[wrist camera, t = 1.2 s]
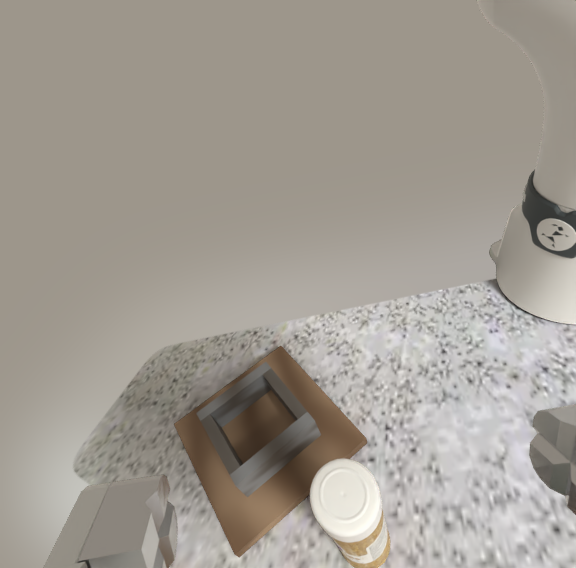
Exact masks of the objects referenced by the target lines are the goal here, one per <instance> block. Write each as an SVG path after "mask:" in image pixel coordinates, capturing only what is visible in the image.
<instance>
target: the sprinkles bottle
mask: <svg viewBox="0 0 576 568" xmlns="http://www.w3.org/2000/svg"><path fill="white" fill-rule="evenodd" d="M310 504H311V508H312V511H313V514H314V516H315V518H316V520H317V521H318V523H319V524H320V526H321V527H322V528H323V530H324V531H325V532H326V533H327V534H329V535H330V536H331V537H332V539H333V540H334V541H335V543H336V544H337V546H338V548H339V549H340V550H341V553H342V554H343V556H344V557H345V559H346V560H347V561H348V562H349V563H350V564H351V565H352V566H354V567H355V568H378V567H379V566H381V565H382V564H383V563H384V562H385V560H386V558H387V556H388V554H389V551H390V537H389V532H388V530H387V526H386V522H385V517H384V513H383V509H382V499H381V494H380V490H379V487H378V484H377V482H376V480H375V478H374V476H373V475H372V473H371V472H370V471H369V470H368V469H367V468H366V467H365V466H364V465H362V464H361V463H359V462H357V461H354V460H351V459H336V460H333V461H330V462H328V463H327V464H325V465H324V466H323V467H321V468H320V469H319V471H318V472H317V473H316V475H315V477H314V479H313V481H312V484H311V488H310Z"/></svg>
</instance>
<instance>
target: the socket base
mask: <svg viewBox="0 0 576 568" xmlns="http://www.w3.org/2000/svg"><path fill="white" fill-rule="evenodd" d="M174 425H175V428H176V430H177V432H178V434H179V436H180V438H181V440H182V443H183V445H184V447H185V449H186V451H187V453H188V455H189V458H190V460H191V462H192V464H193V466H194V468H195V470H196V473H197V475H198V477H199V479H200V481H201V483H202V485H203V488H204V490H205V492H206V494H207V496H208V498H209V500H210V503H211V505H212V507H213V509H214V511H215V513H216V515H217V518H218V520H219V522H220V524H221V526H222V528H223V530H224V533H225V535H226V537H227V539H228V541H229V543H230V545H231V548H232V550H233V552H234V554H235V555H236V556H238V557H240V556H241V555H242V554H244V553H245V552H246V551H247V550H248V549H249V548H250V547H251V546H253V545H254V544H255V543H256V542H257V541H258V540H259V539H260V538H262V537H263V536H264V535H265V534H266V533H267V532H268V531H269V530H270V529H272V528H273V527H274V526H275V525H276V524H277V523H278V522H279V521H281V520H282V519H283V518H284V517H285V516H286V515H287V514H288V513H289V512H291V511H292V510H293V509H294V508H295V507H296V506H297V505H298V504H300V503H301V502H302V501H303V500H304V499H305V498H306V497H307V496H308V495H310V488H311V484H312V481H313V479H314V477H315V475H316V473H317V472H318V471H319V469H320V468H321V467H323V466H324V465H325V464H327V463H328V462H330V461H333V460H336V459H350V458H351V457H352V456H353V455H354V454H355V453H357V452H358V451H359V450H360V449H361V448H362V447H363V446H364V445H366V444H367V440H366V438H365V436H364V435H363V434H362V433H361V432H360V431H359V430H358V429H357V428H356V427H355V426H354V424H353V423H352V422H351V421H350V420H349V419H348V418H347V417H346V416H345V415H344V414H343V413H342V411H341V410H340V409H339V408H338V407H337V406H336V405H335V404H334V403H333V402H332V401H331V399H330V398H329V397H328V396H327V395H326V394H325V393H324V392H323V391H322V390H321V389H320V387H319V386H318V385H317V384H316V383H315V382H314V381H313V380H312V379H311V378H310V377H309V376H308V374H307V373H306V372H305V371H304V370H303V369H302V368H301V367H300V366H299V365H298V364H297V362H296V361H295V360H294V359H293V358H292V357H291V356H290V355H289V354H288V353H287V352H286V351H285V349H284V348H283V347H282V346H280V347H278V348H277V349H276V350H274V351H273V352H271V353H270V354H269V355H267V356H266V357H265V358H263V359H262V360H261V361H259V362H258V363H257V364H255V365H254V366H252V367H251V368H250V369H248V370H247V371H246V372H244V373H243V374H242V375H240V376H239V377H237V378H236V379H235V380H233V381H232V382H231V383H229V384H228V385H227V386H225V387H224V388H222V389H221V390H220V391H218V392H217V393H216V394H214V395H213V396H212V397H210V398H209V399H208V400H206V401H205V402H203V403H202V404H201V405H199V406H198V407H197V408H195V409H194V410H193V411H191V412H190V413H188V414H187V415H186V416H184V417H183V418H182V419H180V420H179V421H178V422H176V423H175V424H174Z"/></svg>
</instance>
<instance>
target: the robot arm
mask: <svg viewBox="0 0 576 568" xmlns="http://www.w3.org/2000/svg"><path fill="white" fill-rule="evenodd" d="M476 1H477V3H478V6H479V8H480V10H481V12H482V14H483V16H484V17H485V18H486V20H487V21H488V22H489V23H490V24H491V25H492V26H493V27H494V28H495V29H497V30H498V31H500V32H501V33H503V34H504V35H506V36H507V37H508V38H510V39H511V40H512V41H513V42H514V43H515V44H516V45H517V46H518V47H519V48H520V49H521V50H522V51H523V52H524V53H525V55H526V56H527V58H528V59H529V60H530V62H531V64H532V65H533V67H534V69H535V71H536V73H537V76H538V78H539V81H540V83H541V87H542V92H543V98H544V119H543V128H542V136H541V143H540V148H539V154H538V159H537V164H536V168H535V170H534V171H533V172H532V173H531V175H530V177H529V179H528V183H527V185H526V186H525V190H524V194H523V202H522V203H521V204H519V205H518V206H516V207H513V208H512V210H511V211H510V214H509V217H508V220H507V223H506V227H505V230H504V234H503V237H502V239H501V240H500V241H498V242H496V243H494V244H492V245H491V248H490V251H489V254H490V256H491V258H492V259H493V261H494V262H495V264H496V278H497V282H498V285H499V287H500V289H501V290H502V292H503V293H504V294H505V296H506V297H507V298H508V299H509V300H510V301H512V302H513V303H514V304H515V305H517V306H518V307H520V308H521V309H523V310H525V311H527V312H529V313H531V314H533V315H535V316H538V317H541V318H544V319H547V320H550V321H554V322H559V323H565V324H574V325H576V0H476ZM533 428H534V429H535V430H536V432H537V433H538V434H537V435H536V436H535V437H534V439H533V440H532V441H531V443H530V453H529V456H530V459H531V462H532V465H533V468H534V470H535V471H536V473H537V474H538V476H539V477H540V479H541V480H542V481H543V482H544V483H545V484H546V485H547V486H548V487H549V488H550V489H552V490H554V491H556V492H558V493H560V494H562V495H564V496H565V498H566V503H567V507H568V508H569V509H570V510H571V511H572V512H573V513H574V514H575V515H576V404H574V405H568V406H563V407H557V408H552V409H546V410H540V411H538V412H537V413H536V415H535V416H534V419H533ZM169 492H170V487H169V484H168V480H167V477H166V476H165V475H157V476H150V477H143V478H136V479H129V480H122V481H115V482H113V483H106V484H99V485H91V486H87V487H86V488H85V489H84V490H83V491H82V492H81V494H80V495H79V497H78V500H77V502H76V503H75V505H74V507H73V509H72V511H71V513H70V515H69V517H68V519H67V521H66V524H65V526H64V527H63V529H62V531H61V533H60V535H59V537H58V539H57V541H56V543H55V545H54V547H53V549H52V551H51V553H50V555H49V558H48V559H47V562H46V564H45V565H44V567H43V568H169V567H170V565H171V564H172V563H173V561H174V560H175V554H176V548H177V529H178V527H177V518H176V512H175V508H174V506H173V505H172V504H171V503H169V502H168V496H169Z"/></svg>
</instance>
